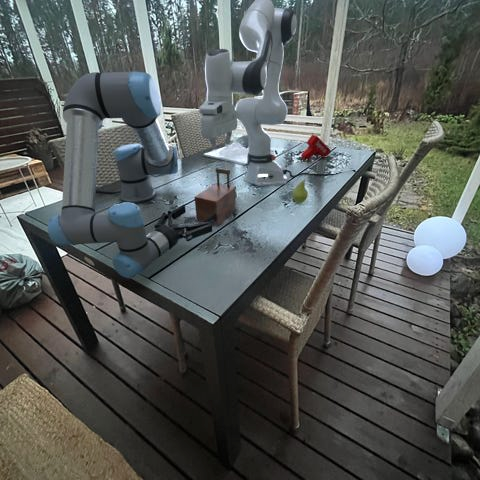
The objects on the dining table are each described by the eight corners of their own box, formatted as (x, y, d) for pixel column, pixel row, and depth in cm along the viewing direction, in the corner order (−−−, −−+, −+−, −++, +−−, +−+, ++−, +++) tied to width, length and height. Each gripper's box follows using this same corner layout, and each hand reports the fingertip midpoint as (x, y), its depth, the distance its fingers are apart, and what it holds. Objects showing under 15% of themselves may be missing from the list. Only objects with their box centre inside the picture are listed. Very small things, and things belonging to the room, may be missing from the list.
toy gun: (302, 156, 169) (316, 135, 166) (298, 155, 172) (312, 134, 169) (317, 170, 180) (331, 150, 177) (313, 169, 183) (326, 149, 180)
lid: (216, 185, 115) (215, 165, 110) (236, 188, 111) (235, 169, 106) (194, 199, 103) (192, 178, 98) (216, 203, 99) (215, 182, 94)
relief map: (245, 164, 167) (245, 156, 164) (203, 155, 185) (203, 148, 182) (268, 154, 185) (268, 147, 183) (228, 147, 203) (228, 140, 200)
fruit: (288, 200, 123) (290, 174, 116) (302, 197, 125) (305, 172, 119) (296, 206, 118) (299, 179, 111) (310, 203, 120) (314, 177, 114)
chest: (216, 205, 119) (215, 185, 114) (235, 209, 115) (235, 189, 110) (196, 220, 108) (194, 199, 103) (217, 225, 104) (216, 203, 99)
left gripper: (133, 241, 89) (173, 214, 105) (195, 261, 80) (230, 229, 96) (127, 221, 85) (171, 196, 101) (193, 240, 76) (229, 209, 92)
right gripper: (226, 102, 104) (227, 139, 111) (196, 108, 88) (199, 151, 96) (241, 102, 101) (241, 141, 109) (212, 109, 86) (215, 153, 93)
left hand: (199, 212), depth 99 cm, fingers open, 13 cm apart
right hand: (221, 146), depth 102 cm, fingers open, 8 cm apart
